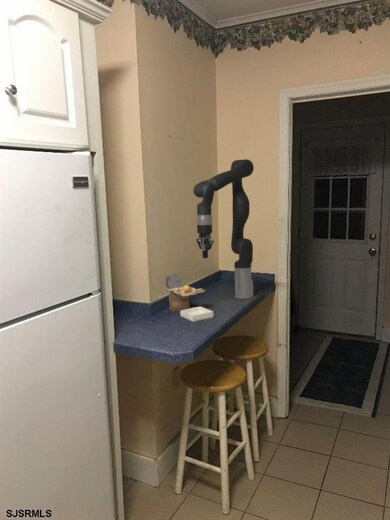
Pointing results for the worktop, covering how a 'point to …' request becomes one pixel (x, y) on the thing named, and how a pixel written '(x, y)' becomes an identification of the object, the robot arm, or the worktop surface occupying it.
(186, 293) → the lever
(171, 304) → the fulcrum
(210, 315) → the dish
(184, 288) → the ball
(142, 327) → the worktop surface
